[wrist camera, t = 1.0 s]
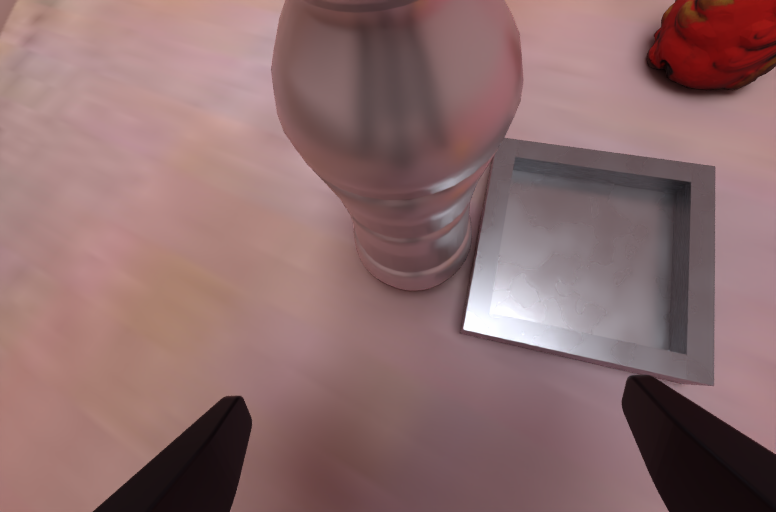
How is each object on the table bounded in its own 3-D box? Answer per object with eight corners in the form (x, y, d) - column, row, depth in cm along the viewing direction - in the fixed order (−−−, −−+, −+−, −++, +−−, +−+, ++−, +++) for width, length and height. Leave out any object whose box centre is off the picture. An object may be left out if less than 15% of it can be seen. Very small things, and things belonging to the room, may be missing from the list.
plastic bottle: (369, 199, 25) (179, -320, 6) (471, 205, 24) (616, -386, 5) (356, 292, 23) (32, -33, 4) (465, 303, 22) (651, -53, 3)
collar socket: (683, 383, 20) (714, 385, 18) (459, 333, 22) (463, 329, 20) (688, 185, 23) (715, 166, 21) (492, 157, 25) (498, 137, 23)
